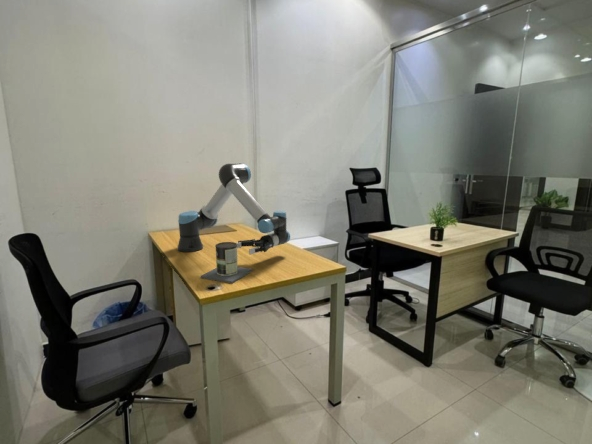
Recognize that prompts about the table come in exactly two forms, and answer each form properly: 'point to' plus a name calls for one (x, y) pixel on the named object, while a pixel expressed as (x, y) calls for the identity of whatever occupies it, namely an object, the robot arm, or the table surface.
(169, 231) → the table surface
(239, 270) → the rubber mat
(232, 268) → the coffee can
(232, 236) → the table surface
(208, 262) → the table surface
